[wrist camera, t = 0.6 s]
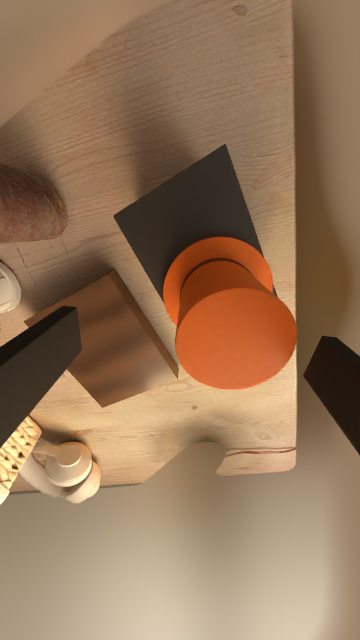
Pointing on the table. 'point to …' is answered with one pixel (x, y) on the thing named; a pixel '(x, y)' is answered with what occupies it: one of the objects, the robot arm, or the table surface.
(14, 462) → the basket
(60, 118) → the table surface
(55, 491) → the headphones
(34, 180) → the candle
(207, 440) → the table surface
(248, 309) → the hat
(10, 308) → the cup
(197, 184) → the television
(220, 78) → the table surface
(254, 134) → the table surface
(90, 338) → the brown wooden board
